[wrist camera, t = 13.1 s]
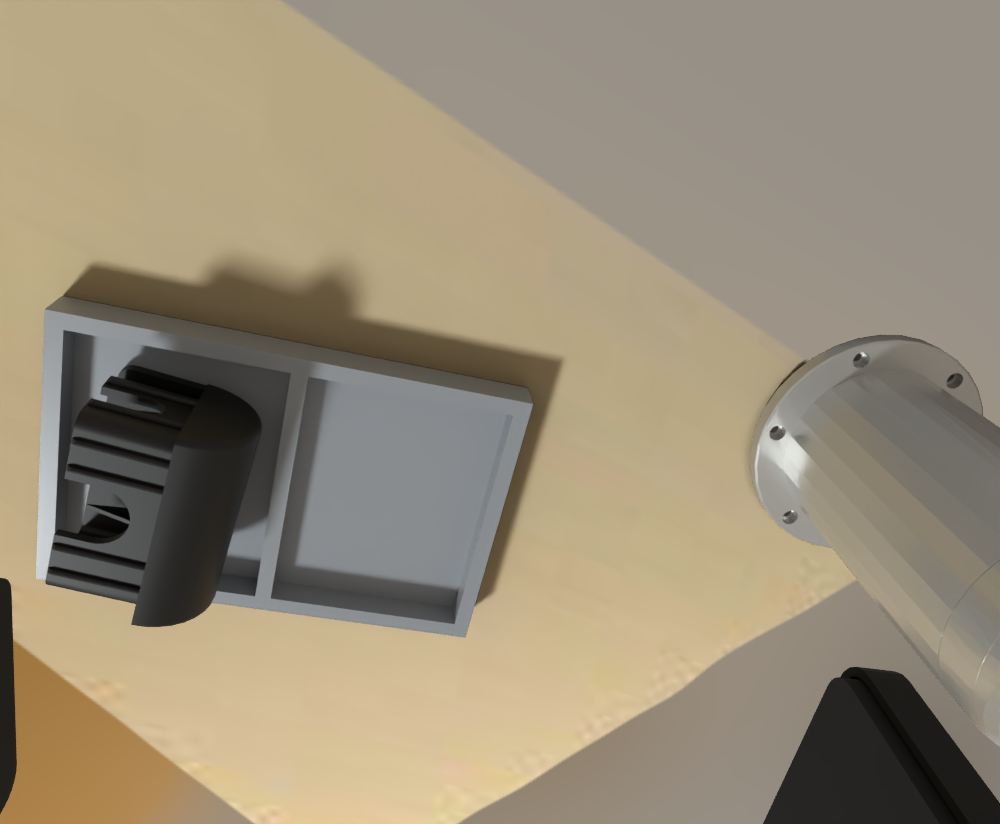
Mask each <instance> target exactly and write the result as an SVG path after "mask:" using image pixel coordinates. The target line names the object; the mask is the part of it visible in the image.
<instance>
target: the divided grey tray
mask: <svg viewBox="0 0 1000 824" xmlns="http://www.w3.org/2000/svg"><path fill="white" fill-rule="evenodd" d="M129 365H135V366H140V367H144V368H147V369H151V370H154V371H158V372H161V373H165V374H168V375H172V376H175V377H179V378H182V379H186V380H189V381H193V382H196V383H200V384H203V385H208V384H210V385H213V386H216V387H219V388H222V389H224V390H226V391H229V392H231V393H233V394H235V395H236V396H238V397H240V398H242V399H243V400H244V401H246V402H247V403H249V404H250V405H251V406H252V407H253V408H254V409H255V411H256V412H257V414H258V415H259V417H260V419H261V423H262V431H261V436H260V439H259V443H258V446H257V450H256V453H255V457H254V460H253V464H252V467H251V471H250V475H249V478H248V482H247V485H246V489H245V492H244V496H243V499H242V503H241V506H240V510H239V514H238V517H237V521H236V524H235V528H234V531H233V535H232V538H231V542H230V545H229V549H228V552H227V556H226V560H225V563H224V567H223V570H222V574H221V577H220V581H219V584H218V588H217V591H216V595H215V597H214V599H213V601H212V603H217V604H224V605H232V606H239V607H246V608H254V609H261V610H268V611H276V612H283V613H290V614H298V615H305V616H312V617H319V618H327V619H334V620H341V621H349V622H356V623H363V624H371V625H378V626H385V627H393V628H400V629H407V630H414V631H422V632H429V633H436V634H444V635H451V636H458V637H466V634H467V630H468V627H469V623H470V620H471V616H472V613H473V610H474V606H475V603H476V599H477V596H478V592H479V589H480V585H481V582H482V579H483V575H484V572H485V568H486V565H487V561H488V558H489V555H490V551H491V548H492V544H493V541H494V537H495V534H496V531H497V527H498V524H499V520H500V517H501V513H502V510H503V506H504V503H505V500H506V496H507V493H508V489H509V486H510V482H511V479H512V476H513V472H514V469H515V465H516V462H517V458H518V455H519V451H520V448H521V445H522V441H523V438H524V434H525V431H526V427H527V424H528V421H529V417H530V414H531V410H532V407H533V402H532V398H531V395H530V392H529V389H528V388H526V387H521V386H516V385H511V384H506V383H501V382H496V381H491V380H485V379H480V378H475V377H470V376H465V375H460V374H455V373H450V372H445V371H440V370H435V369H430V368H425V367H420V366H415V365H409V364H404V363H399V362H394V361H389V360H384V359H379V358H374V357H369V356H364V355H359V354H354V353H349V352H344V351H338V350H333V349H328V348H323V347H318V346H313V345H308V344H303V343H298V342H293V341H288V340H283V339H278V338H273V337H268V336H262V335H257V334H252V333H247V332H242V331H237V330H232V329H227V328H222V327H217V326H212V325H207V324H202V323H197V322H192V321H186V320H181V319H176V318H171V317H166V316H161V315H156V314H151V313H146V312H141V311H136V310H131V309H126V308H121V307H116V306H110V305H105V304H100V303H95V302H90V301H85V300H80V299H75V298H70V297H65V296H61V297H60V298H59V299H58V300H56V301H55V302H54V303H52V304H51V305H50V306H48V307H47V308H46V309H45V314H44V346H43V377H42V409H41V440H40V472H39V503H38V535H37V566H36V579H42V580H46V575H47V570H48V564H49V559H50V553H51V548H52V543H53V537H54V534H55V532H56V531H57V530H58V529H61V530H65V531H69V532H73V533H79V531H80V529H81V526H82V522H83V517H84V512H85V506H86V501H87V496H88V491H89V486H90V485H88V484H84V483H80V482H76V481H72V480H68V479H64V478H65V472H66V467H67V461H68V456H69V451H70V445H71V440H72V434H73V429H74V425H75V422H76V419H77V416H78V414H79V412H80V411H81V409H82V408H83V407H84V406H85V405H86V404H87V403H88V401H89V400H90V399H91V398H93V399H96V400H100V401H104V402H106V401H107V396H105V395H101V394H100V393H101V387H102V385H103V384H104V383H105V382H106V381H107V380H108V379H109V377H110V376H115V377H117V376H118V375H119V373H120V371H121V370H122V369H123V368H124V367H126V366H129Z"/></svg>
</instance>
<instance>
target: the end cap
mask: <svg viewBox="0 0 1000 824" xmlns="http://www.w3.org/2000/svg"><path fill="white" fill-rule="evenodd" d="M100 394H101V395H105V396H107V401H106V402H104V401H100V400H96V399H93V398H91V399H90V400H89V401H88V403H87V404H86V405H85V406H84V407H83V408H82V409H81V411H80V412H79V414H78V416H77V419H76V422H75V425H74V429H73V434H72V440H71V445H70V451H69V456H68V461H67V467H66V472H65V478H64V479H68V480H72V481H76V482H80V483H84V484H88V485H90V486H89V491H88V496H87V501H86V506H85V512H84V517H83V522H82V526H81V529H80V531H79V533H73V532H69V531H65V530H61V529H58V530H57V531H56V532H55V534H54V537H53V543H52V548H51V553H50V559H49V564H48V570H47V575H46V581H45V582H46V584H48V585H52V586H57V587H62V588H66V589H71V590H75V591H80V592H84V593H89V594H93V595H98V596H102V597H107V598H112V599H116V600H121V601H125V602H130V603H134V604H136V607H135V611H134V615H133V620H132V625H137V626H144V627H162V626H172V625H176V624H180V623H184V622H186V621H189V620H191V619H193V618H195V617H197V616H198V615H200V614H201V613H203V612H204V611H205V610H206V609H207V608H208V607H209V606H210V605H211V603H212V601H213V599H214V597H215V595H216V591H217V588H218V584H219V581H220V577H221V574H222V570H223V567H224V563H225V560H226V556H227V552H228V549H229V545H230V542H231V538H232V535H233V531H234V528H235V524H236V521H237V517H238V514H239V510H240V506H241V503H242V499H243V496H244V492H245V489H246V485H247V482H248V478H249V475H250V471H251V467H252V464H253V460H254V457H255V453H256V450H257V446H258V443H259V439H260V436H261V431H262V423H261V419H260V417H259V415H258V414H257V412H256V411H255V409H254V408H253V407H252V406H251V405H250V404H249V403H247V402H246V401H244V400H243V399H242V398H240V397H238V396H236V395H235V394H233V393H231V392H229V391H226V390H224V389H222V388H219V387H216V386H213V385H210V384H208V385H203V384H200V383H196V382H193V381H189V380H186V379H182V378H179V377H175V376H172V375H168V374H165V373H161V372H158V371H154V370H151V369H147V368H144V367H140V366H135V365H129V366H126V367H124V368H123V369H122V370H121V371H120V373H119V375H118V376H117V377H115V376H110V377H109V379H108V380H107V381H106V382H105V383H104V384H103V385H102V387H101V393H100Z"/></svg>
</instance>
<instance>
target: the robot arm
mask: <svg viewBox="0 0 1000 824" xmlns="http://www.w3.org/2000/svg"><path fill="white" fill-rule="evenodd" d="M749 468H750V474H751V480H752V485H753V488H754V490H755V492H756V495H757V497H758V500H759V502H760V503H761V504H762V506H763V507H764V509H765V510H766V512H767V513H768V515H769V516H770V517H771V518H772V519H773V521H774V522H775V523H776V524H777V525H778V526H779V527H780V528H781V529H783V530H784V531H786V532H787V533H789V534H790V535H792V536H793V537H795V538H797V539H799V540H802V541H805V542H807V543H810V544H812V545H817V546H823V547H828V548H832V549H833V550H834V551H835V553H836V554H837V555H838V556H839V558H840V559H841V560H842V561H843V563H844V564H845V565H846V566H847V568H848V569H849V570H850V571H851V573H852V574H853V575H854V576H855V578H856V579H857V580H858V581H859V583H860V584H861V585H862V586H863V588H864V589H865V590H866V591H867V592H868V594H869V595H870V596H871V598H872V599H873V600H874V601H875V603H876V604H877V605H878V606H879V607H880V609H881V610H882V611H883V612H884V614H885V615H886V616H887V618H888V619H889V620H890V621H891V623H892V624H893V625H894V626H895V627H896V629H897V630H898V631H899V633H900V634H901V635H902V636H903V638H904V639H905V640H906V641H907V643H908V644H909V645H910V646H911V647H912V649H913V650H914V651H915V652H916V654H917V655H918V656H919V658H920V659H921V660H922V661H923V663H924V664H925V665H926V666H927V668H928V669H929V670H930V671H931V673H932V674H933V675H934V676H935V678H936V679H937V680H938V681H939V682H940V684H941V685H942V686H943V687H944V688H945V690H946V691H947V692H948V693H949V695H950V696H951V697H952V698H953V699H954V700H955V702H956V703H957V704H958V705H959V707H960V708H961V709H962V710H963V712H964V713H965V714H966V715H967V716H968V718H969V719H970V720H971V721H972V722H973V723H974V724H975V725H976V726H977V728H978V729H980V731H981V732H982V733H984V734H985V735H986V736H987V737H988V738H989V739H991V740H992V741H993V742H994V743H995V744H997V745H998V746H999V747H1000V428H999V427H998V426H996V425H995V424H993V423H992V422H990V421H989V420H987V419H986V418H985V417H983V407H982V403H981V399H980V395H979V391H978V388H977V387H976V385H975V383H974V381H973V379H972V377H971V376H970V374H969V372H967V370H966V369H965V368H964V367H963V366H962V365H961V364H960V363H959V362H958V361H957V360H956V359H955V358H953V357H952V356H950V355H948V354H947V353H946V352H944V351H943V350H941V349H939V348H937V347H935V346H933V345H931V344H929V343H927V342H925V341H923V340H920V339H915V338H911V337H907V336H902V335H876V336H870V337H864V338H858V339H855V340H852V341H849V342H846V343H843V344H840V345H837V346H834V347H832V348H831V349H829V350H827V351H825V352H823V353H821V354H819V355H817V356H816V357H814V358H812V359H811V360H810V361H808V362H807V363H806V364H804V365H803V366H802V367H800V368H799V369H798V370H796V371H795V372H794V373H793V374H792V375H791V376H790V377H789V378H788V379H787V380H786V381H785V382H784V383H783V384H782V385H781V386H780V387H779V388H778V389H777V391H776V392H775V394H774V395H773V397H772V398H771V399H770V401H769V402H768V404H767V405H766V407H765V408H764V410H763V412H762V415H761V417H760V419H759V421H758V423H757V425H756V427H755V431H754V435H753V439H752V443H751V447H750V462H749ZM16 766H17V760H16V728H15V695H14V663H13V629H12V596H11V585H10V583H9V581H8V580H7V579H4V578H0V813H1V812H2V810H3V808H4V806H5V804H6V802H7V800H8V798H9V795H10V793H11V790H12V787H13V783H14V779H15V775H16ZM763 824H1000V803H999V802H998V800H997V799H996V797H995V796H994V795H993V793H992V792H991V791H990V789H989V788H988V787H987V785H986V784H985V783H984V781H983V780H982V779H981V777H980V776H979V775H978V773H977V772H976V770H975V769H974V768H973V766H972V765H971V764H970V763H969V761H968V760H967V758H966V757H965V756H964V755H963V753H962V752H961V751H960V749H959V748H958V746H957V745H956V744H955V742H954V741H953V740H952V738H951V737H950V735H949V734H948V733H947V732H946V730H945V729H944V728H943V726H942V725H941V723H940V722H939V721H938V719H937V718H936V717H935V715H934V714H933V713H932V711H931V710H930V709H929V707H928V706H927V705H926V703H925V702H924V701H923V699H922V698H921V696H920V695H919V694H918V692H916V690H915V689H914V687H913V686H912V684H911V683H910V682H909V681H908V680H907V679H906V678H905V677H904V676H903V675H902V674H900V673H897V672H893V671H886V670H878V669H869V668H861V667H850V668H848V669H847V670H846V671H844V672H843V674H842V676H841V677H840V678H834V679H833V680H832V681H831V682H830V683H829V685H828V687H827V689H826V691H825V693H824V695H823V697H822V699H821V702H820V704H819V706H818V708H817V710H816V712H815V714H814V716H813V719H812V721H811V723H810V725H809V727H808V729H807V732H806V734H805V735H804V738H803V740H802V742H801V744H800V746H799V748H798V750H797V753H796V755H795V757H794V759H793V761H792V763H791V765H790V767H789V770H788V772H787V774H786V776H785V778H784V780H783V782H782V784H781V787H780V789H779V791H778V793H777V795H776V797H775V799H774V802H773V804H772V806H771V808H770V810H769V812H768V814H767V816H766V819H765V821H764V823H763Z"/></svg>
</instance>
